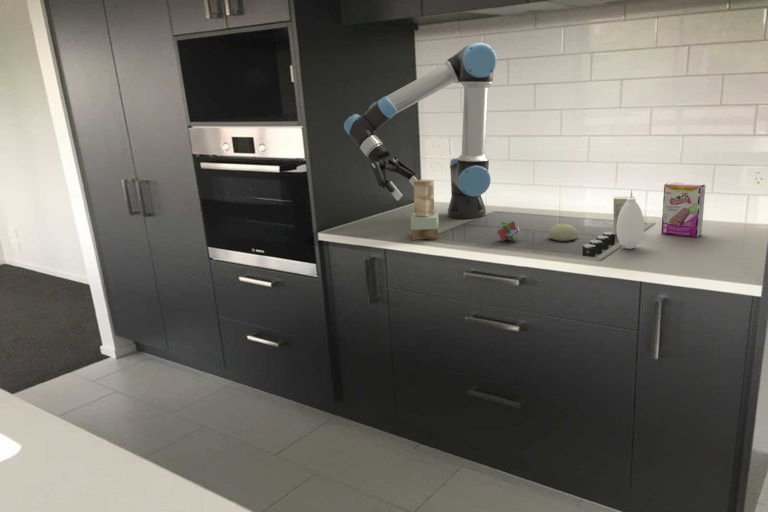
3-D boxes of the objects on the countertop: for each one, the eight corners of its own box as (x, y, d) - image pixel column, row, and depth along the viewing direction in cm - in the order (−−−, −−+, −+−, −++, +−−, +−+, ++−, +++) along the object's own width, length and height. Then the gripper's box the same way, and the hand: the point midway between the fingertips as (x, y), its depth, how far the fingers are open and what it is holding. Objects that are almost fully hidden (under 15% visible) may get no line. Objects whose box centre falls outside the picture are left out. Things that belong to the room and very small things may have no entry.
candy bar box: (660, 234, 204) (663, 184, 199) (666, 231, 207) (668, 181, 203) (697, 238, 196) (700, 186, 192) (702, 234, 200) (706, 183, 195)
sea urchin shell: (578, 229, 209) (578, 216, 203) (577, 249, 206) (576, 237, 199) (550, 228, 212) (548, 216, 206) (548, 249, 209) (547, 237, 202)
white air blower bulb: (640, 252, 185) (643, 192, 180) (613, 250, 189) (614, 191, 184) (645, 246, 191) (648, 187, 187) (618, 244, 195) (620, 186, 191)
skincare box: (634, 232, 208) (635, 196, 204) (633, 235, 204) (634, 198, 201) (613, 231, 210) (614, 196, 207) (612, 235, 207) (613, 198, 203)
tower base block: (438, 233, 226) (437, 223, 225) (438, 240, 217) (437, 228, 216) (413, 234, 227) (412, 224, 226) (412, 241, 218) (411, 229, 217)
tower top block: (438, 223, 224) (438, 212, 223) (436, 229, 216) (436, 217, 215) (413, 223, 226) (413, 213, 225) (411, 229, 217) (410, 218, 216)
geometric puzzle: (500, 239, 203) (512, 217, 203) (488, 235, 209) (500, 214, 209) (515, 249, 206) (527, 228, 206) (502, 244, 212) (514, 224, 212)
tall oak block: (422, 213, 223) (421, 179, 221) (434, 214, 220) (433, 180, 218) (414, 215, 219) (413, 181, 217) (426, 216, 217) (426, 181, 214)
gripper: (390, 154, 237) (425, 195, 232) (347, 162, 218) (384, 208, 213) (401, 139, 233) (436, 182, 228) (358, 147, 214) (396, 193, 209)
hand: (411, 194), depth 220 cm, fingers open, 13 cm apart
